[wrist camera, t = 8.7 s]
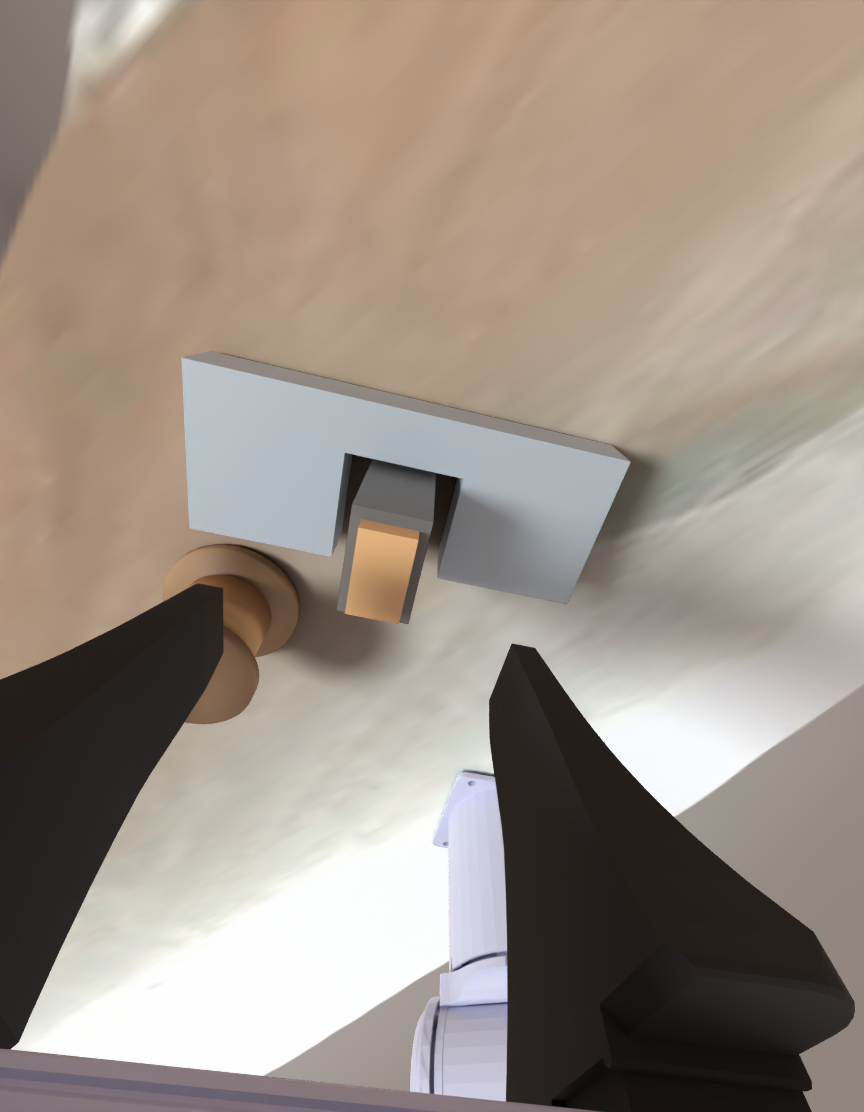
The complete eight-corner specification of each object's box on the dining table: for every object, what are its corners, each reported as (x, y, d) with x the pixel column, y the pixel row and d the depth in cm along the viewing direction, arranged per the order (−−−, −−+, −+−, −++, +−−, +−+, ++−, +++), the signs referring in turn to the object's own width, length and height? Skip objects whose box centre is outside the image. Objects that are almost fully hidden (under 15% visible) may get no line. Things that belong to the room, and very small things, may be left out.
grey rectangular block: (436, 461, 19) (433, 530, 13) (417, 543, 21) (406, 635, 15) (377, 447, 19) (348, 512, 13) (363, 532, 21) (332, 621, 15)
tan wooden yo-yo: (304, 559, 22) (267, 628, 17) (294, 659, 25) (261, 741, 20) (165, 531, 21) (88, 595, 16) (173, 637, 24) (110, 716, 20)
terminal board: (611, 445, 19) (630, 461, 17) (556, 577, 22) (566, 604, 20) (211, 350, 17) (181, 357, 15) (213, 506, 20) (189, 528, 18)
